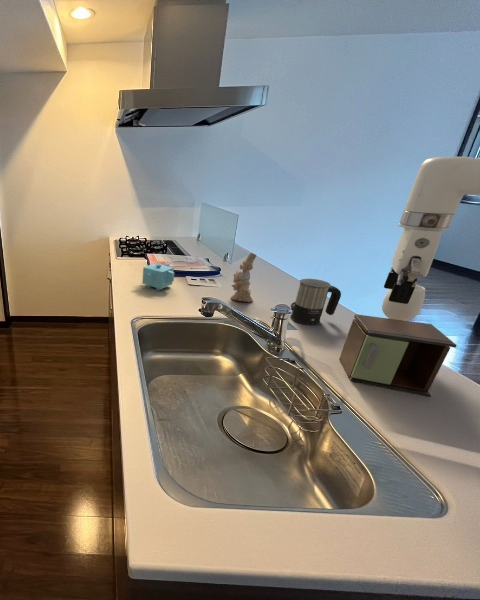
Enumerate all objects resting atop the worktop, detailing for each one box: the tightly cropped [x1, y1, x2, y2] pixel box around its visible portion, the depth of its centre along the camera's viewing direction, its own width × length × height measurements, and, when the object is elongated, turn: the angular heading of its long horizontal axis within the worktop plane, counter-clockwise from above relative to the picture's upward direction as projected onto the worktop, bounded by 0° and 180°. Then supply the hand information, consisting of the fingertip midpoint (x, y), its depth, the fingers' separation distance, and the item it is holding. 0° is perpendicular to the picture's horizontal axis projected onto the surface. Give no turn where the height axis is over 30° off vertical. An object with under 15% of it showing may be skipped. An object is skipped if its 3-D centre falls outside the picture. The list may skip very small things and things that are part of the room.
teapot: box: [141, 262, 176, 291], centre depth 151 cm, size 16×18×11 cm
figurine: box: [230, 252, 257, 303], centre depth 133 cm, size 9×8×20 cm
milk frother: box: [289, 278, 342, 326], centre depth 119 cm, size 14×16×15 cm
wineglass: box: [381, 284, 426, 321], centre depth 95 cm, size 9×9×21 cm
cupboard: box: [338, 313, 457, 398], centre depth 84 cm, size 16×11×15 cm
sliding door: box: [351, 335, 409, 385], centre depth 80 cm, size 8×4×13 cm, turn 66°
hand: (394, 295), depth 74 cm, fingers open, 9 cm apart
